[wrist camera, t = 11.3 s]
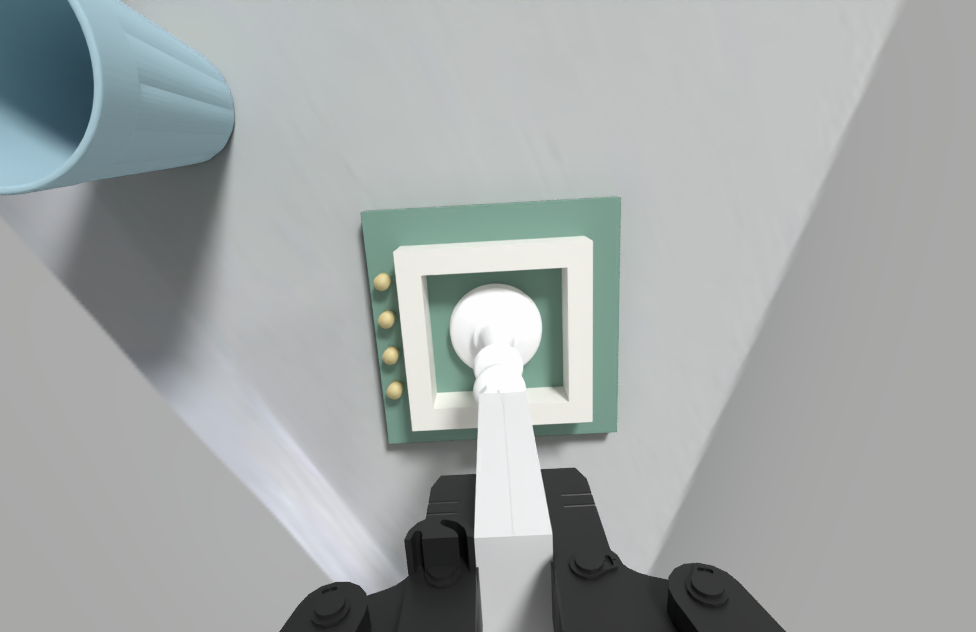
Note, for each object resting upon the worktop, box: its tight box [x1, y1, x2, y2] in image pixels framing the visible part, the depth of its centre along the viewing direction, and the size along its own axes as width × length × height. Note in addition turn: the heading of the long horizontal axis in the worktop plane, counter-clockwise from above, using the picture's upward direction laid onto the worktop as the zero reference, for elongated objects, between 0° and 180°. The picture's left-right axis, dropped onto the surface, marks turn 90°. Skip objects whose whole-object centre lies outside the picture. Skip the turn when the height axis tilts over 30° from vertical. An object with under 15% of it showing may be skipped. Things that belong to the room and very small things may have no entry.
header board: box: [361, 197, 621, 444], centre depth 26 cm, size 13×13×3 cm
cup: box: [0, 0, 234, 195], centre depth 19 cm, size 8×8×10 cm
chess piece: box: [450, 284, 542, 405], centre depth 22 cm, size 5×5×10 cm
